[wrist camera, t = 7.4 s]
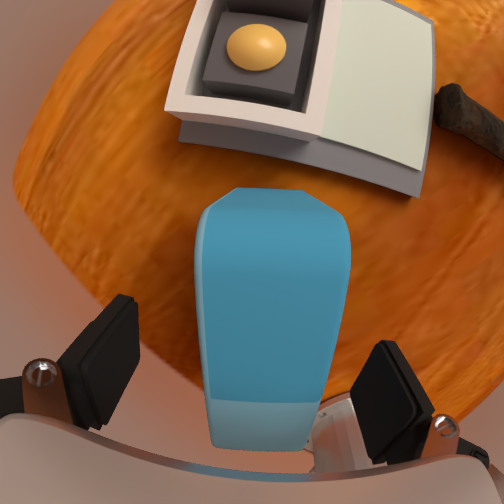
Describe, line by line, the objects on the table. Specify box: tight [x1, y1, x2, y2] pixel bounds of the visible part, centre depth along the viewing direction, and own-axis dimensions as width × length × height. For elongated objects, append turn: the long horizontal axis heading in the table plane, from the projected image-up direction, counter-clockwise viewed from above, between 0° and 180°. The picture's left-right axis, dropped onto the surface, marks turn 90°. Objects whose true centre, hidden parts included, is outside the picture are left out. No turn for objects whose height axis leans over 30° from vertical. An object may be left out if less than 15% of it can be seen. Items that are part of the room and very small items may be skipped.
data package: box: [194, 187, 351, 451], centre depth 14 cm, size 12×4×12 cm, turn 178°
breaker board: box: [164, 0, 435, 198], centre depth 13 cm, size 17×18×4 cm
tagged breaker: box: [202, 12, 308, 106], centre depth 13 cm, size 5×5×3 cm
